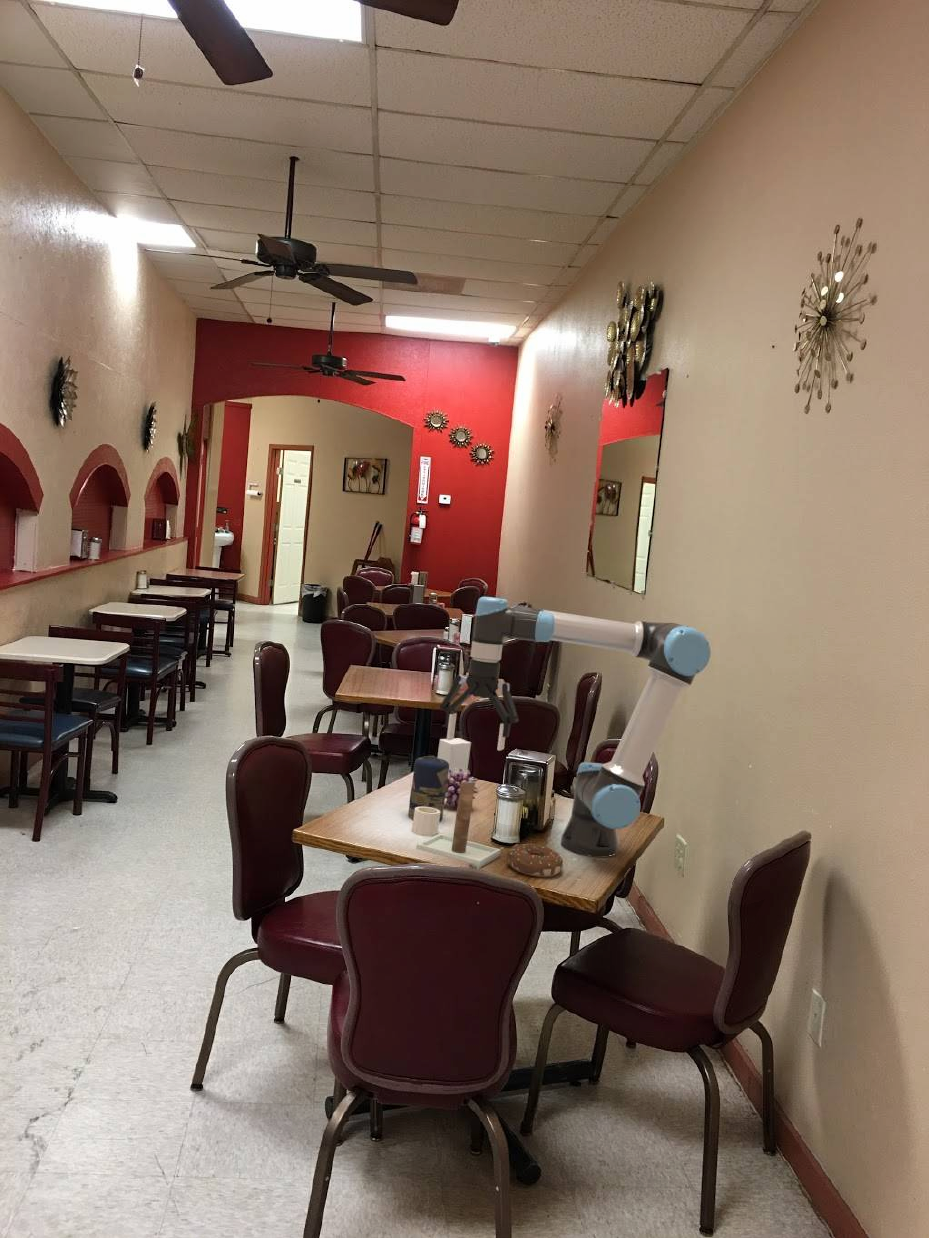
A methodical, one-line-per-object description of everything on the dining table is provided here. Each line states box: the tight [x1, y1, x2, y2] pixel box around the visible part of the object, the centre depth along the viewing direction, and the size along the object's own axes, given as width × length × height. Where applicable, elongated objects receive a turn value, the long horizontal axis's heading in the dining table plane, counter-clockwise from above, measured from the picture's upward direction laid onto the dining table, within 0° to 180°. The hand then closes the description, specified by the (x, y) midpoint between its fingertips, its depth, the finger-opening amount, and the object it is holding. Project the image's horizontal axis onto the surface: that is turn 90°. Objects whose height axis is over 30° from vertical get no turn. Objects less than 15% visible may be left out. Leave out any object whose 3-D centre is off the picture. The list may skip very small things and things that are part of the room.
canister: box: [407, 755, 449, 823], centre depth 276 cm, size 10×10×18 cm
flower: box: [445, 768, 479, 809], centre depth 294 cm, size 12×12×12 cm
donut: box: [506, 842, 564, 878], centre depth 246 cm, size 14×14×5 cm
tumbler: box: [411, 807, 440, 837], centre depth 263 cm, size 7×7×6 cm
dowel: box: [452, 782, 476, 853], centre depth 250 cm, size 4×4×17 cm
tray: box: [415, 833, 502, 869], centre depth 250 cm, size 17×13×2 cm
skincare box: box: [437, 737, 472, 775], centre depth 316 cm, size 8×7×16 cm
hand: (475, 744), depth 251 cm, fingers open, 13 cm apart
